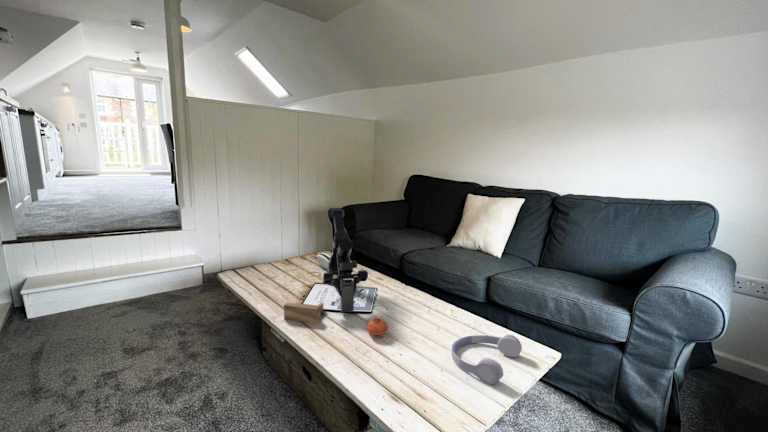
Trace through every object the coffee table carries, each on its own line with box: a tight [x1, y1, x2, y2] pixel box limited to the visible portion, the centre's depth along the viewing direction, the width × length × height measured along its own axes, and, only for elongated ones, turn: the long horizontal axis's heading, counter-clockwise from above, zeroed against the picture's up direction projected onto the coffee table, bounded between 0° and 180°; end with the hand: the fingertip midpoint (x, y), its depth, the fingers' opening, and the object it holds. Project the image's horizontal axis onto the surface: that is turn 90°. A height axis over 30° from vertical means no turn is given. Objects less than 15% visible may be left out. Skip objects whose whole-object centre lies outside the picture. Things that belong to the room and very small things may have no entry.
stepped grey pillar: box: [339, 279, 355, 313], centre depth 142 cm, size 5×5×12 cm
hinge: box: [315, 252, 331, 271], centre depth 199 cm, size 17×5×10 cm, turn 38°
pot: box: [366, 317, 389, 339], centre depth 127 cm, size 8×8×7 cm
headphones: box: [451, 334, 523, 386], centre depth 114 cm, size 22×7×20 cm
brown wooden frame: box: [283, 299, 324, 324], centre depth 141 cm, size 11×14×6 cm
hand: (347, 296), depth 141 cm, fingers closed on stepped grey pillar, 5 cm apart
